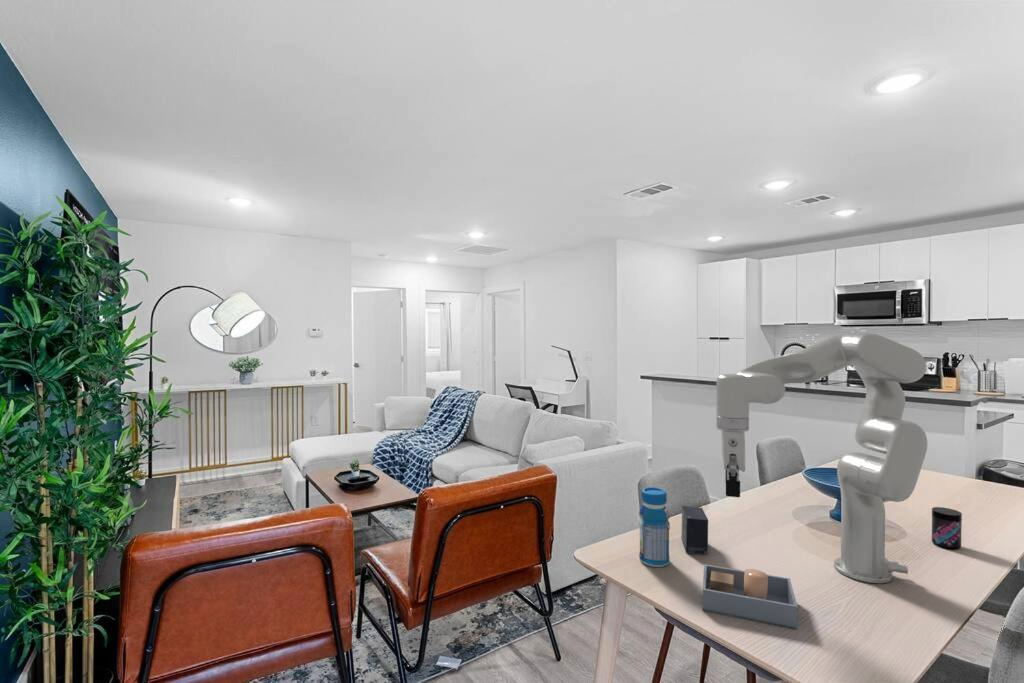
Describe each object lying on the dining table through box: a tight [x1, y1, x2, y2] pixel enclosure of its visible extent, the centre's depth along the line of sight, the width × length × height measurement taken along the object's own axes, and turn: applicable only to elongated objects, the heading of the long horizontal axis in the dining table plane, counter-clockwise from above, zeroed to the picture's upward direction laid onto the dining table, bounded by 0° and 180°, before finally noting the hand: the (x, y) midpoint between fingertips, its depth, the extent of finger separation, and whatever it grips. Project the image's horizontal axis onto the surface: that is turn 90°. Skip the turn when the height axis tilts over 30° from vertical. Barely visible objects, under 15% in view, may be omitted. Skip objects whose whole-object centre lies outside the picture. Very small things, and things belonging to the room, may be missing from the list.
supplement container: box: [931, 506, 963, 551], centre depth 147 cm, size 7×7×10 cm
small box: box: [680, 505, 709, 556], centre depth 148 cm, size 11×6×10 cm, turn 169°
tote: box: [702, 563, 799, 631], centre depth 117 cm, size 19×13×5 cm
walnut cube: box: [710, 571, 734, 594], centre depth 119 cm, size 5×5×5 cm
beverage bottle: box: [638, 486, 671, 568], centre depth 139 cm, size 8×8×20 cm
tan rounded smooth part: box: [743, 568, 769, 600], centre depth 116 cm, size 5×5×7 cm
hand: (732, 490), depth 125 cm, fingers open, 9 cm apart
